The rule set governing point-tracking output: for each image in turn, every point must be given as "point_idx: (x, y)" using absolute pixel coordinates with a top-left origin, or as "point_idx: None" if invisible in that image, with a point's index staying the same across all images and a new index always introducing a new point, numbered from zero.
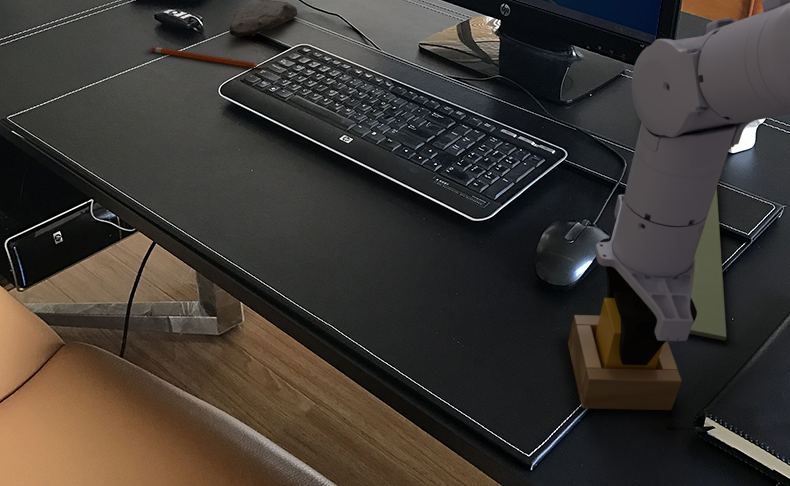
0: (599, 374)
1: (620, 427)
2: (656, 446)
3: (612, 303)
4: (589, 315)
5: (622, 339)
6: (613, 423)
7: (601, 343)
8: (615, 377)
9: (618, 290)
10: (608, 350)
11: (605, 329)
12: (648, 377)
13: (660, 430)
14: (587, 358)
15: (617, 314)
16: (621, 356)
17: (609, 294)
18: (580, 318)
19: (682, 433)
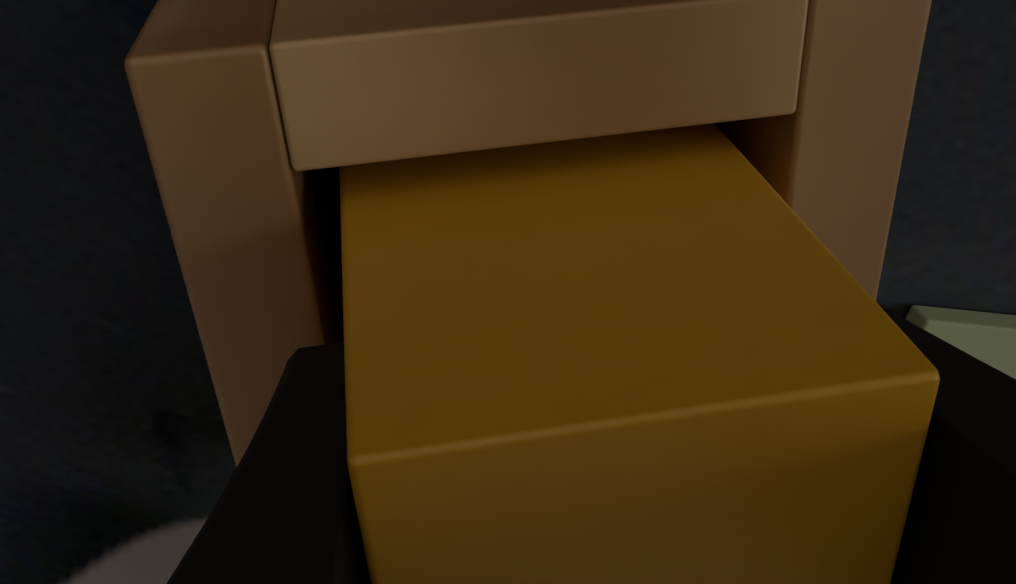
0: (208, 152)
1: (87, 193)
2: (7, 363)
3: (838, 450)
4: (909, 112)
5: (226, 549)
6: (107, 156)
7: (564, 193)
8: (208, 270)
9: (991, 551)
10: (366, 282)
11: (591, 291)
12: None
13: (134, 386)
14: (388, 61)
15: (659, 493)
16: (279, 391)
17: (970, 440)
18: (885, 33)
19: (146, 473)
